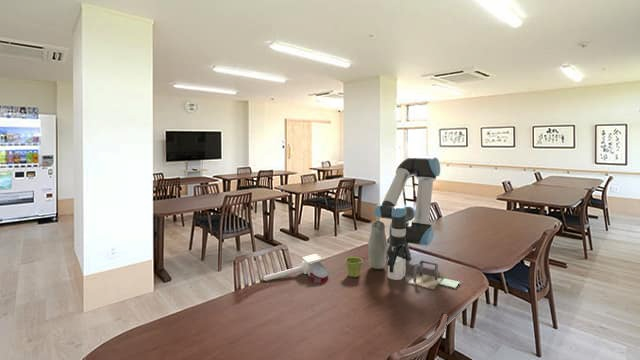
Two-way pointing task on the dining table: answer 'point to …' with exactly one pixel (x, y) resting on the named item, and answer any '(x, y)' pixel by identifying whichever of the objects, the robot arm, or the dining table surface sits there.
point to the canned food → (318, 273)
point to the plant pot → (354, 266)
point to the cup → (398, 269)
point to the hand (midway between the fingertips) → (397, 273)
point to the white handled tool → (296, 268)
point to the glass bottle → (377, 245)
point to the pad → (449, 283)
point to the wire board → (425, 281)
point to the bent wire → (422, 269)
